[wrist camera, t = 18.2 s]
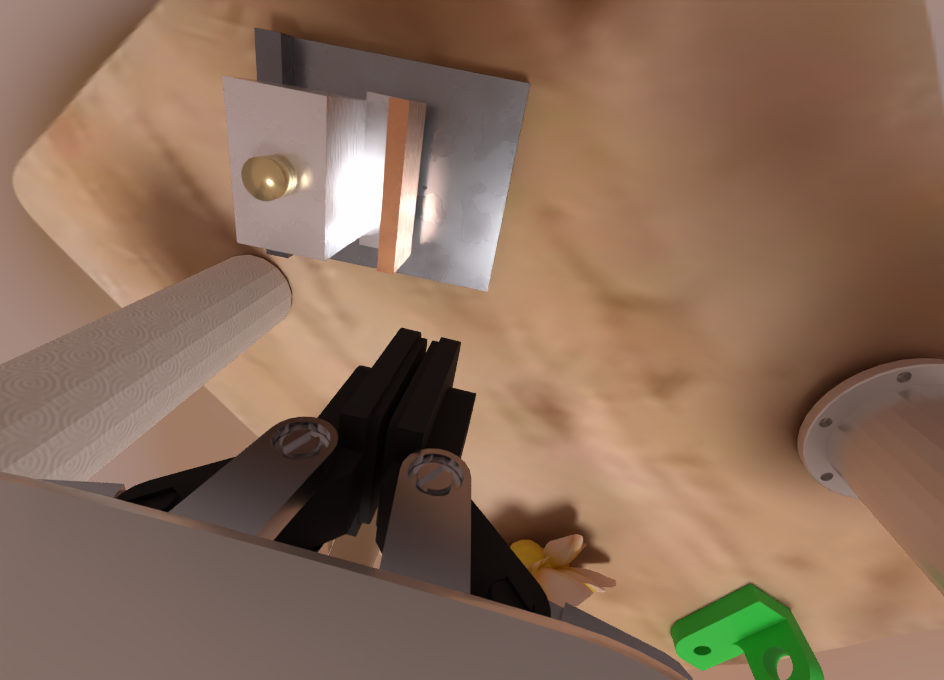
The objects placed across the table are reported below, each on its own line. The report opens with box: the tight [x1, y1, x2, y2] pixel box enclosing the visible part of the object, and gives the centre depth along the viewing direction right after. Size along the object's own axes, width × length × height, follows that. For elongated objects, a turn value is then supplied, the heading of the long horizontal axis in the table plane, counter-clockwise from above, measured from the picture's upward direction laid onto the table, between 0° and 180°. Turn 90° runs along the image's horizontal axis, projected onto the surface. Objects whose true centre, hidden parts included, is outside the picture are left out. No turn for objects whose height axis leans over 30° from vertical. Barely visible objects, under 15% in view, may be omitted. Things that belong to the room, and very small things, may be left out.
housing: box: [223, 76, 366, 261], centre depth 24 cm, size 5×8×8 cm, turn 170°
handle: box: [329, 508, 380, 567], centre depth 35 cm, size 5×6×15 cm
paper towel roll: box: [0, 255, 292, 482], centre depth 25 cm, size 7×6×21 cm
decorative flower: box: [510, 534, 616, 607], centre depth 41 cm, size 15×11×10 cm
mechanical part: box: [671, 584, 824, 680], centre depth 43 cm, size 12×6×8 cm, turn 144°
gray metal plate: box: [254, 28, 530, 291], centre depth 28 cm, size 16×13×3 cm
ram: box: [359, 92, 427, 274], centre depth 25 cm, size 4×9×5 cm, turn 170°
